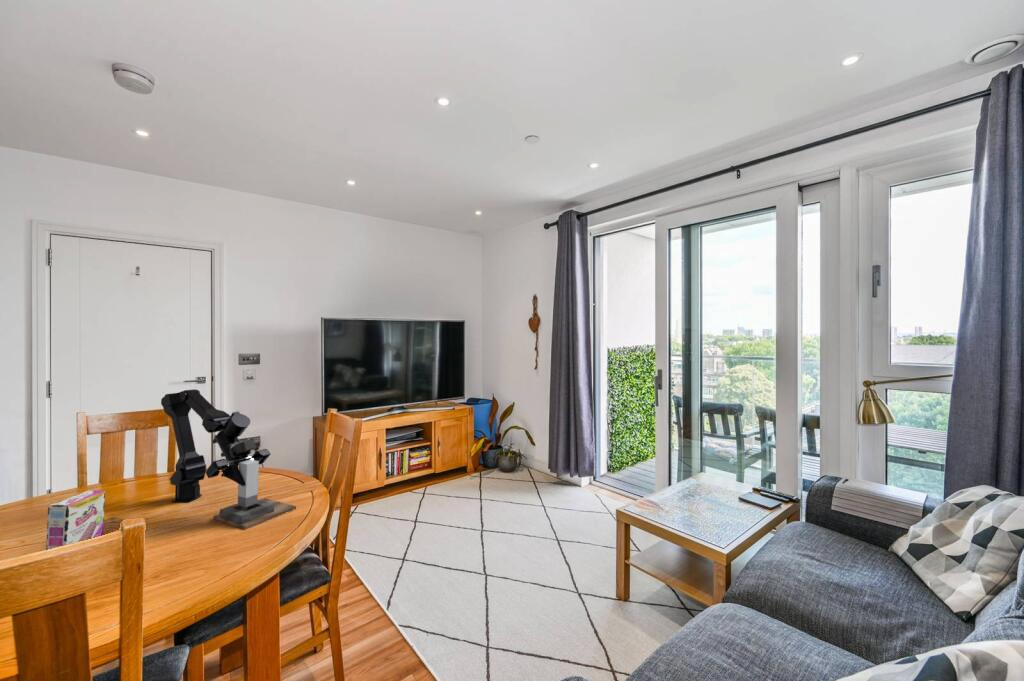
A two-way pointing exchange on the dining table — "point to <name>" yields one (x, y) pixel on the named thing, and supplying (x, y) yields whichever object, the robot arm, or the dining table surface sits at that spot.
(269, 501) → the grey square socket base
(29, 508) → the dining table surface
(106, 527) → the pastry
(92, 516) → the candy bar box
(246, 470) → the white block
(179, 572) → the dining table surface
